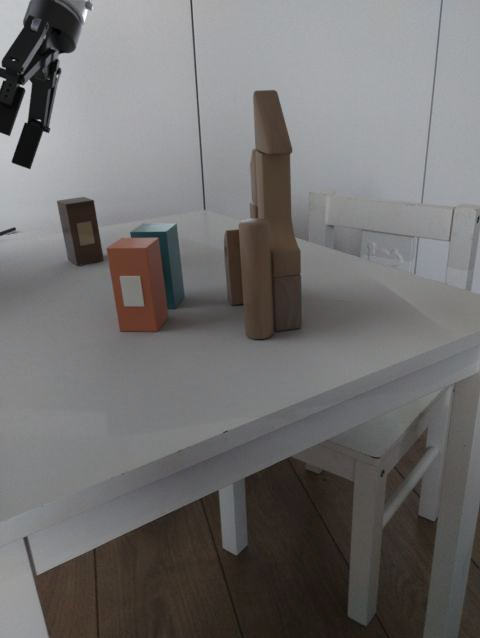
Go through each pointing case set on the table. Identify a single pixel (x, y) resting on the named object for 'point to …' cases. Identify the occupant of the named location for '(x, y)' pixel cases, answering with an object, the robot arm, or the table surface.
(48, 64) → the robot arm
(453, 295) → the table surface
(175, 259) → the teal letter block
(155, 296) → the terracotta letter block
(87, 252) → the walnut letter block
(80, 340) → the table surface
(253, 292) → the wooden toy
